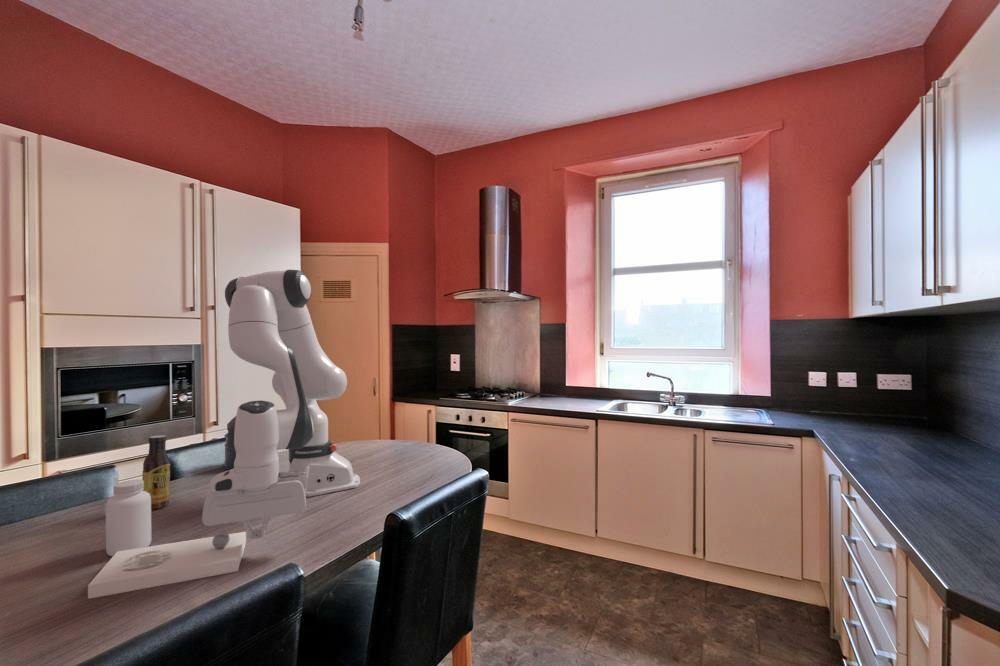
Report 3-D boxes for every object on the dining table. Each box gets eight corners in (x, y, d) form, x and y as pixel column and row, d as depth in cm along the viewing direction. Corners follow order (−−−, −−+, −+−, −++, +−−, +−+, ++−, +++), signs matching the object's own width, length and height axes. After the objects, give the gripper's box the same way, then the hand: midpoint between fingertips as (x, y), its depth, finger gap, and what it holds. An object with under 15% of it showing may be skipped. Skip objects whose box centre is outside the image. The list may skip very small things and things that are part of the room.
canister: (234, 460, 173) (234, 415, 173) (270, 459, 174) (270, 414, 174) (217, 471, 160) (217, 421, 160) (255, 469, 161) (255, 420, 161)
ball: (230, 543, 99) (230, 528, 99) (228, 549, 96) (228, 534, 96) (213, 546, 98) (213, 531, 98) (210, 552, 95) (210, 537, 95)
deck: (246, 542, 105) (246, 531, 105) (237, 571, 92) (237, 559, 92) (117, 563, 95) (117, 551, 95) (87, 598, 82) (87, 585, 82)
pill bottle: (123, 541, 105) (123, 477, 105) (159, 540, 106) (159, 476, 106) (95, 558, 97) (96, 489, 97) (135, 556, 98) (135, 488, 98)
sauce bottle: (154, 512, 123) (154, 439, 123) (135, 510, 124) (135, 438, 124) (175, 503, 129) (175, 434, 129) (157, 501, 130) (158, 433, 130)
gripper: (307, 466, 107) (307, 524, 107) (206, 476, 99) (206, 539, 98) (307, 473, 101) (307, 535, 101) (200, 485, 93) (200, 552, 93)
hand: (256, 537), depth 100 cm, fingers closed
